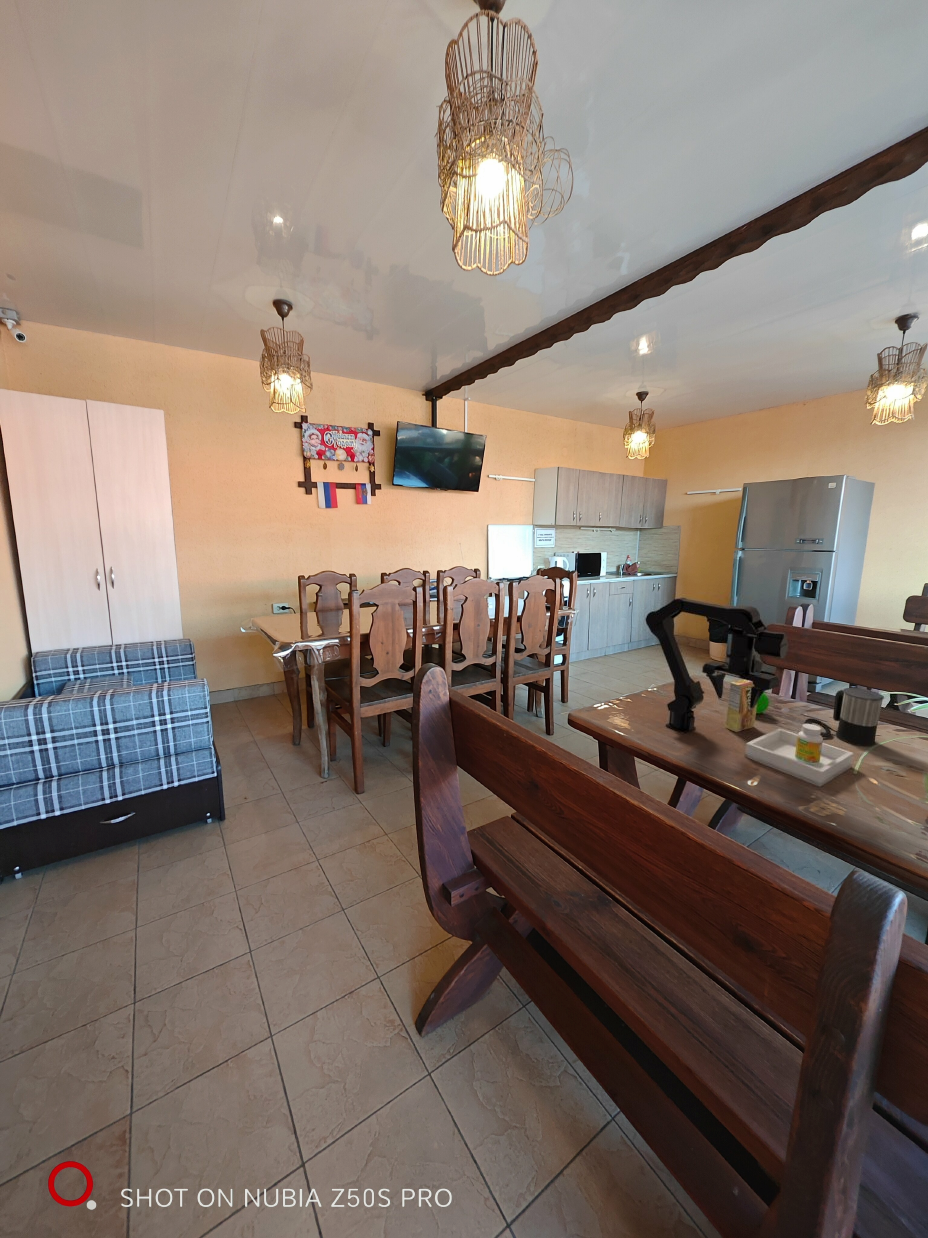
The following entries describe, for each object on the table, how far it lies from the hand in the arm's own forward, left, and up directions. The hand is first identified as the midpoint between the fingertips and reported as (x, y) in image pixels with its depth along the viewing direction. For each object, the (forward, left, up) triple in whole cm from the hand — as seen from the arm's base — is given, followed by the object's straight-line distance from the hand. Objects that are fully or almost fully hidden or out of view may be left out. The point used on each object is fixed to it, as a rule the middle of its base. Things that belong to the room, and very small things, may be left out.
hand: (735, 703), depth 132 cm
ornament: (-9, +30, -13) cm, 34 cm away
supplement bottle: (+17, +6, -12) cm, 22 cm away
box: (+15, +5, -13) cm, 20 cm away
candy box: (-5, +14, -13) cm, 20 cm away
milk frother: (+14, +32, -13) cm, 38 cm away
